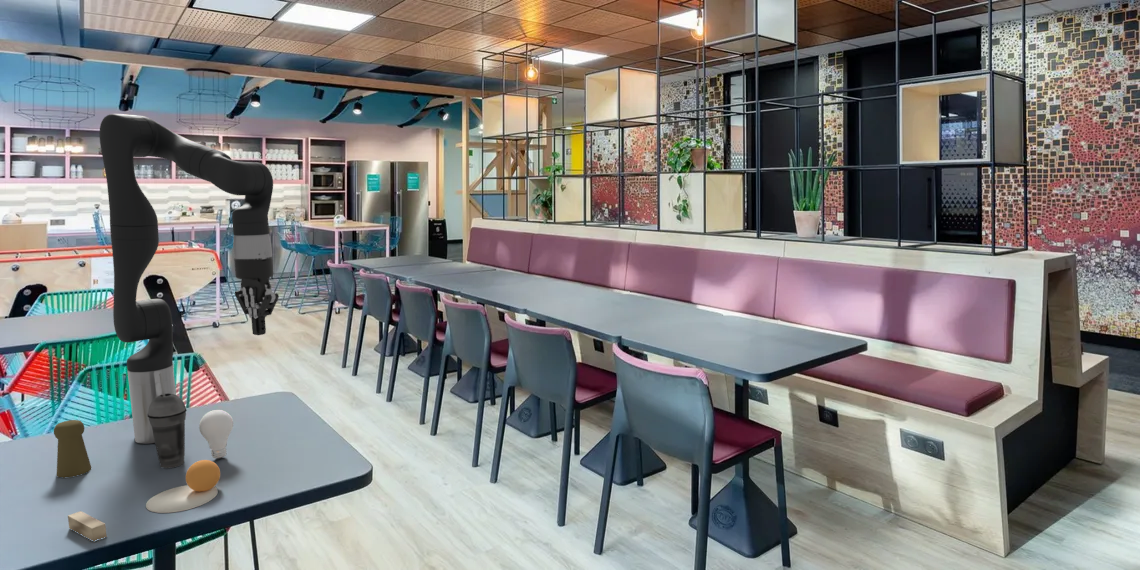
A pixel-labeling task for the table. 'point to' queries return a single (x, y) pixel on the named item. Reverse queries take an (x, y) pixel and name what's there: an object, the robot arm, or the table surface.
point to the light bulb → (216, 431)
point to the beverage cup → (168, 428)
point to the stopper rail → (87, 525)
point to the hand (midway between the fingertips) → (259, 334)
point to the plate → (179, 499)
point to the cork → (71, 449)
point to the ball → (202, 475)
